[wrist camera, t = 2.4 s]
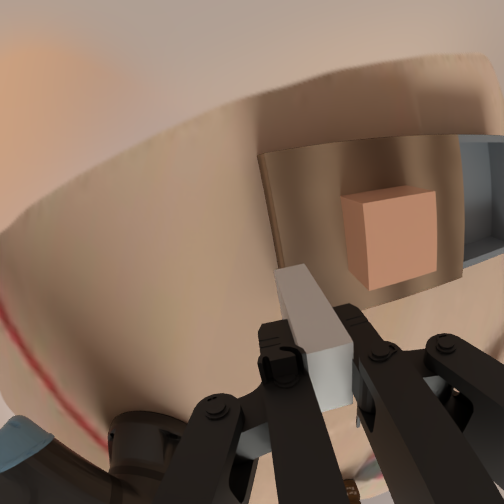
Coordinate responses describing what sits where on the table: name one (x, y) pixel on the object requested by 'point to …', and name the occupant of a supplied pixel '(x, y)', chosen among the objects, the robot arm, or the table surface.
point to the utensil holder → (352, 491)
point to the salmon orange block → (390, 234)
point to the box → (483, 196)
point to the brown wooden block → (356, 181)
